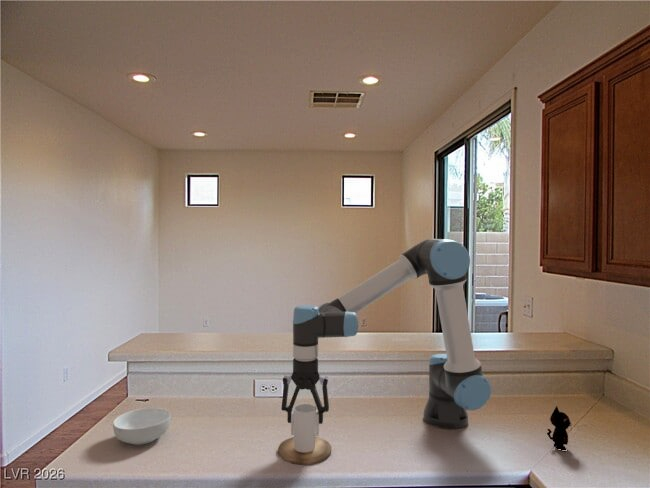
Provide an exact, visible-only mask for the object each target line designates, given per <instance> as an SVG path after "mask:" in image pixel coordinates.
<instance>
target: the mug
mask: <svg viewBox="0 0 650 488" xmlns="http://www.w3.org/2000/svg"><path fill="white" fill-rule="evenodd" d="M292 410H293V417H294V435H293V437H294V449H295V450H296V451H298V452H303V453H306V452H311V451H313V450H314V449H315V437H317V436H316V413H317V406H316V405H313V404H310V403H300V404H297V405H294V406H293V408H292Z"/></svg>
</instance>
